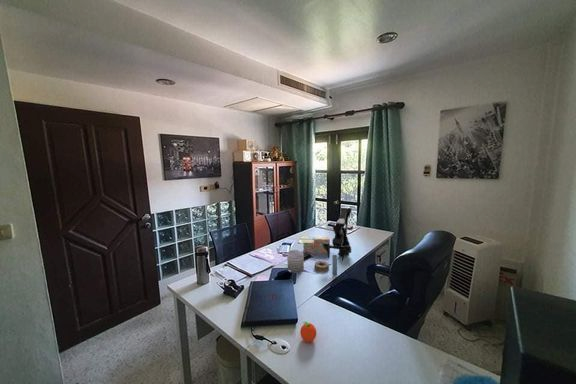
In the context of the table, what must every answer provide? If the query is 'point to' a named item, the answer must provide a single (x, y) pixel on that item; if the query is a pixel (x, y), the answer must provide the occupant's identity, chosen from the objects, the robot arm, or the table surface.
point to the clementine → (308, 332)
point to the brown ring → (321, 266)
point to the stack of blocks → (315, 245)
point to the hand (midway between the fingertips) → (335, 259)
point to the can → (295, 261)
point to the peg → (334, 265)
